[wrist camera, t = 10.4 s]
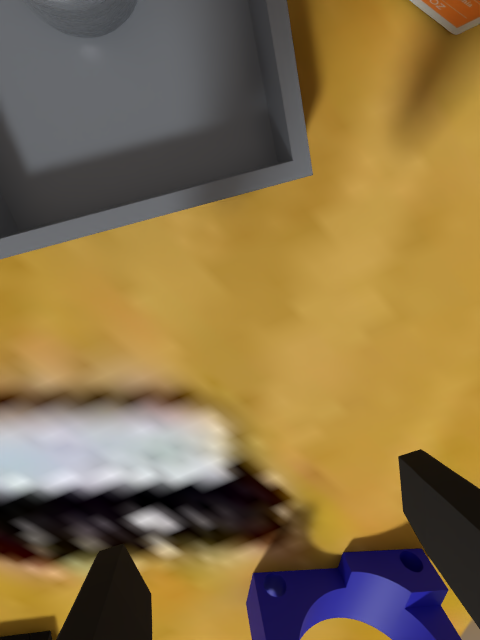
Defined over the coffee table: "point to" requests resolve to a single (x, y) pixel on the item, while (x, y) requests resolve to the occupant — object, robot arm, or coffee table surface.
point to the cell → (83, 15)
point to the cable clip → (353, 597)
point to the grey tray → (143, 116)
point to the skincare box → (452, 13)
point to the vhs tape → (30, 636)
